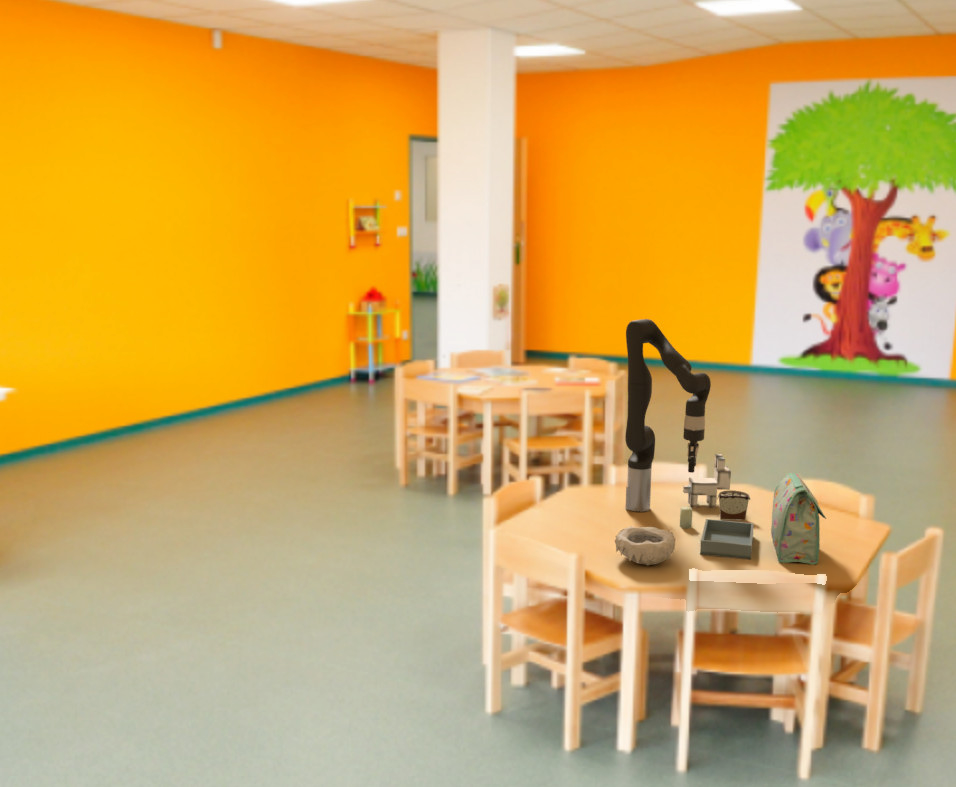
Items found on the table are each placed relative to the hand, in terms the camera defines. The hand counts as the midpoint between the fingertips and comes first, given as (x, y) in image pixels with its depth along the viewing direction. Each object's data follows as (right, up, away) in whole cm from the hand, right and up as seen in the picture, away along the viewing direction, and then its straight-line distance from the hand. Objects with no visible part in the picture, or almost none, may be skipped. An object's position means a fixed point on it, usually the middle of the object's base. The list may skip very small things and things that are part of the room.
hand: (691, 469), depth 372 cm
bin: (+9, -26, -16) cm, 32 cm away
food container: (+18, -20, +14) cm, 31 cm away
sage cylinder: (-1, -22, +4) cm, 22 cm away
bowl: (-23, -29, -31) cm, 48 cm away
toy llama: (+12, -17, +30) cm, 36 cm away
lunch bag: (+31, -28, -23) cm, 48 cm away
